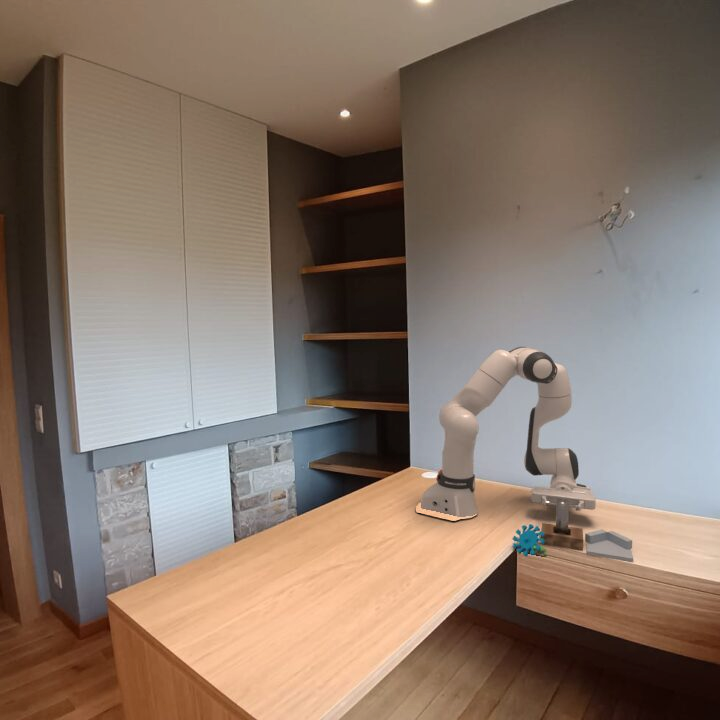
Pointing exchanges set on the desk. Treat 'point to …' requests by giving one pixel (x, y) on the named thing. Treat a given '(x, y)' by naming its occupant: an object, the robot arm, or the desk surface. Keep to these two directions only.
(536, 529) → the blue spiky virus model
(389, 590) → the desk surface
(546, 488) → the robot arm
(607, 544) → the v block
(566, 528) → the axle
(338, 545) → the desk surface
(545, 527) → the brown slotted block
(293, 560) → the desk surface
